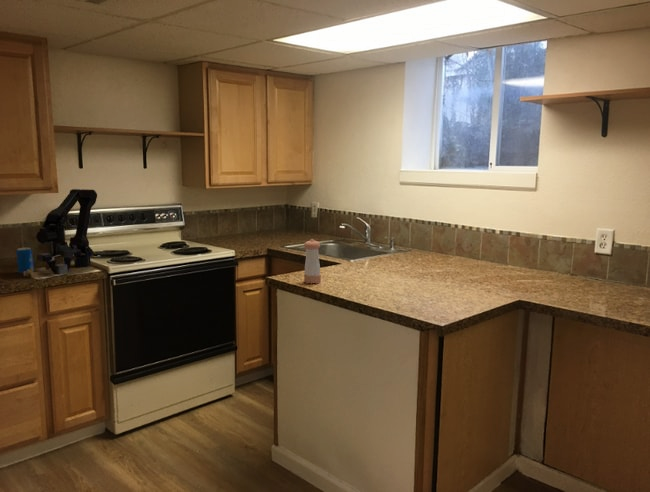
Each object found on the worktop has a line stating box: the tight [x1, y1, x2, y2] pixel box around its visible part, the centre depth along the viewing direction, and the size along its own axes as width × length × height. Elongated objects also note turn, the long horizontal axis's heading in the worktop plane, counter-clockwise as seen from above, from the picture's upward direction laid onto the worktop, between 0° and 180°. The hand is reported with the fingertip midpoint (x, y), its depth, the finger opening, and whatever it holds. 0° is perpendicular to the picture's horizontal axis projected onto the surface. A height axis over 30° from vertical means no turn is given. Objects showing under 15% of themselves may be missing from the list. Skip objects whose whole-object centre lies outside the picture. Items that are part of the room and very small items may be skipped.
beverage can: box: [16, 247, 35, 274], centre depth 260 cm, size 6×6×12 cm
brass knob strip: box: [24, 269, 34, 278], centre depth 251 cm, size 2×5×3 cm, turn 57°
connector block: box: [56, 263, 69, 276], centre depth 257 cm, size 4×4×4 cm
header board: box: [22, 266, 69, 280], centre depth 255 cm, size 14×13×3 cm
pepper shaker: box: [303, 238, 322, 284], centre depth 242 cm, size 7×7×19 cm
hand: (61, 272), depth 257 cm, fingers open, 6 cm apart
